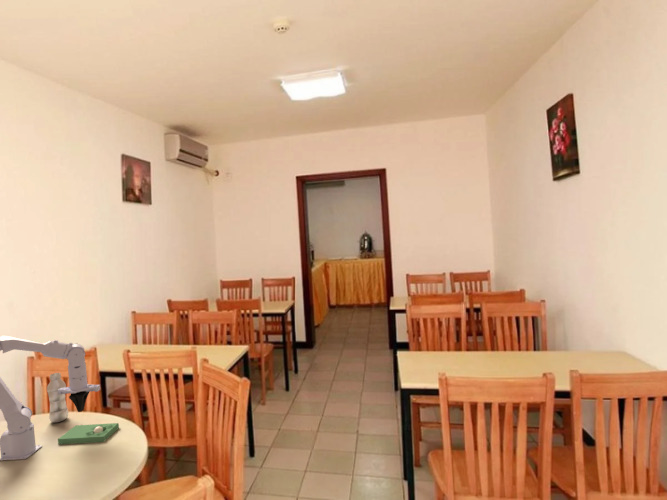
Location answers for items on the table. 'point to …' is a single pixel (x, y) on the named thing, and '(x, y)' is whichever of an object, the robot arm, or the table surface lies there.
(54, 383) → the plastic bottle
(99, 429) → the ball
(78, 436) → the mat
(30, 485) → the table surface
